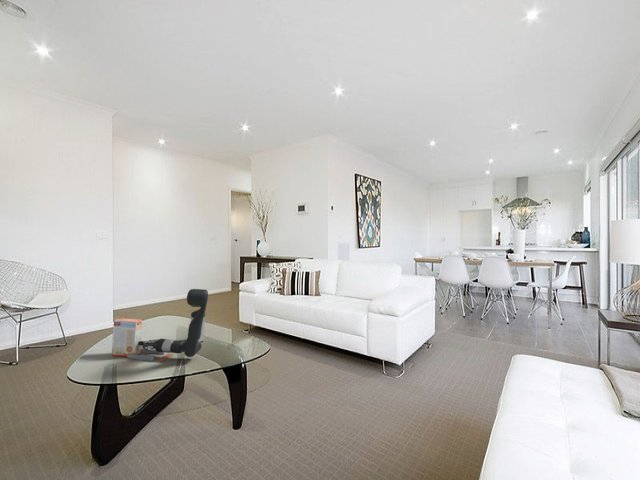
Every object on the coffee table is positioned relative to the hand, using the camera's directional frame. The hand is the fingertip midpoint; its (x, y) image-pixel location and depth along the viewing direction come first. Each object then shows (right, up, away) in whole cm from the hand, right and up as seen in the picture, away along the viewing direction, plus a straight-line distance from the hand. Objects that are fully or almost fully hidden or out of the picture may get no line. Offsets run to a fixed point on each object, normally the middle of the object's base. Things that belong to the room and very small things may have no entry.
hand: (139, 343), depth 179 cm
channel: (+5, -7, -1) cm, 9 cm away
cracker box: (-7, -7, -1) cm, 10 cm away
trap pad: (+16, -8, -2) cm, 18 cm away
